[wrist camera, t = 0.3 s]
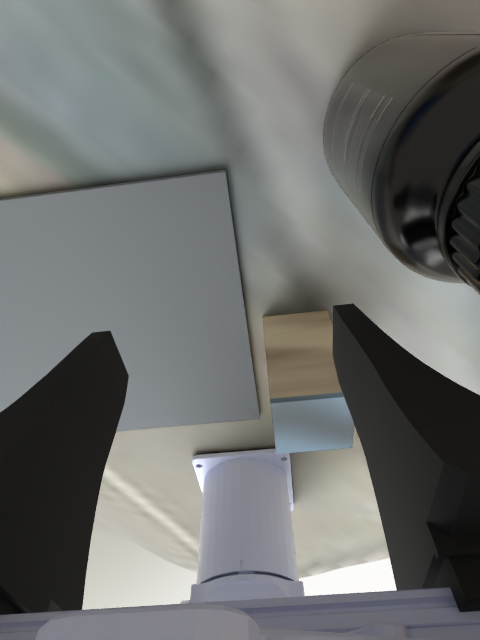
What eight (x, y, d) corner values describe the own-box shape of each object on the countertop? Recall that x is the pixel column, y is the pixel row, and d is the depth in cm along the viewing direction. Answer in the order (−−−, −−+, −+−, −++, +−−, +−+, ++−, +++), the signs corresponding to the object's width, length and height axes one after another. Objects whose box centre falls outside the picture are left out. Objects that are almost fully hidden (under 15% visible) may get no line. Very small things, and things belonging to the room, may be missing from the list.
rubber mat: (259, 414, 29) (259, 418, 29) (-18, 439, 31) (-21, 443, 30) (225, 169, 19) (225, 172, 18) (-196, 223, 20) (-203, 226, 20)
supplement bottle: (382, 225, 21) (513, 394, 11) (289, 135, 18) (353, 254, 8) (506, 113, 18) (839, 211, 8) (415, -16, 15) (749, -105, 5)
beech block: (327, 358, 26) (352, 447, 21) (267, 364, 26) (276, 453, 21) (327, 310, 24) (356, 395, 18) (262, 316, 24) (270, 403, 18)
